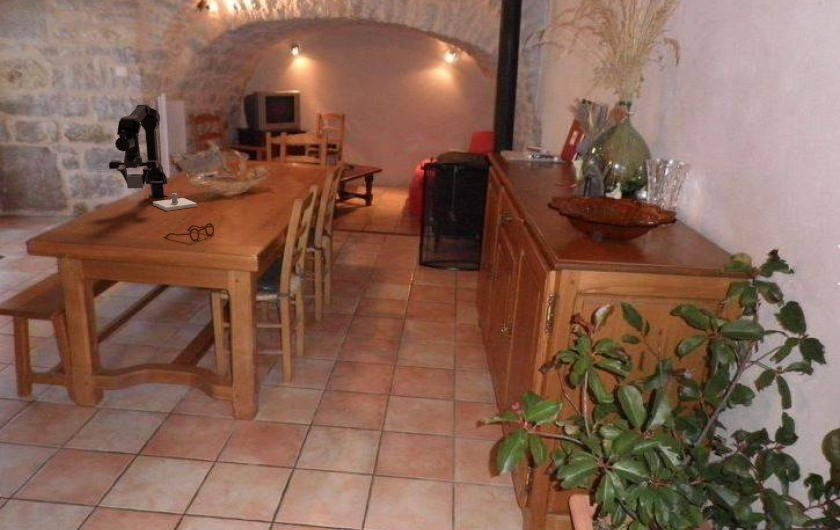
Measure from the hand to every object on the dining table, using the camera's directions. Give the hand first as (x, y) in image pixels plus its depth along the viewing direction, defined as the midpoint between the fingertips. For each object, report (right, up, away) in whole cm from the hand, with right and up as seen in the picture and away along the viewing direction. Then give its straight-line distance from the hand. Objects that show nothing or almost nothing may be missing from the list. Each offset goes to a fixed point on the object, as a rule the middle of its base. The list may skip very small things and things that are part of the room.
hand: (136, 184), depth 274 cm
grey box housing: (0, -1, 0) cm, 1 cm away
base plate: (+12, -8, +11) cm, 19 cm away
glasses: (+35, -24, -33) cm, 54 cm away
